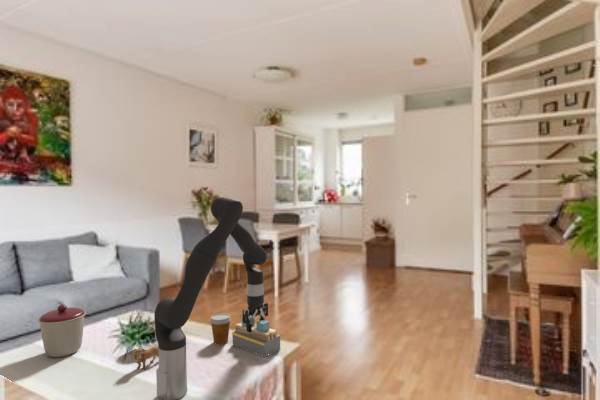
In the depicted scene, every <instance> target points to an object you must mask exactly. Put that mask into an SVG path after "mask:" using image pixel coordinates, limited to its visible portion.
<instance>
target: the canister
mask: <svg viewBox="0 0 600 400" xmlns="http://www.w3.org/2000/svg"><path fill="white" fill-rule="evenodd" d="M86 314H87V311H86V309H85V310H84V309H82V308H80V307H79V308H78V307H68V306H67V305H66V304H61V305H58V306H57V308H56V309H53V310H50V311H48V312H46V313H43V314H42V315H41V316H39V317H38V318H37V322H38V324H39V326H40V327H39V328H40V332H41V333H40V334H41V338H42V344H43V349H44V352H45V354H46V356H48V357H50V358H51V357H52V358H62V357H67V356H70V355H73V354H75V353H76V352H78V351H79V350H80V348H81V346H82V343H83V335H84V327H85V325H84V324H85V316H86Z"/></svg>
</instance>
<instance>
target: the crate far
mask: <svg viewBox="0 0 600 400" xmlns="http://www.w3.org/2000/svg"><path fill="white" fill-rule="evenodd" d="M250 317H252V316H251V315H250ZM245 320H246V319H245ZM249 321H250V319H249ZM241 322H242V326H246V324H245V323H243V317H241ZM251 324H252V326H253V325H255V324H256V323H255V318H254V319H253V320H252V323H251Z"/></svg>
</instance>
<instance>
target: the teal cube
mask: <svg viewBox="0 0 600 400" xmlns="http://www.w3.org/2000/svg"><path fill="white" fill-rule="evenodd" d="M256 324H257V330H258V331H261V332H265V331H267V330H269V329H270V328H271V327H270V321H269V320H266V319H265V320H261V321H260V320H259V321H257V322H256Z"/></svg>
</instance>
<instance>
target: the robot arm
mask: <svg viewBox="0 0 600 400" xmlns="http://www.w3.org/2000/svg"><path fill="white" fill-rule="evenodd" d="M243 209H244V206H243V203H242V201H241V200H238V199H235V198H230V197H224V196H218V197H216V198H214V199H213V201H212V202H211V205H210V213H211V215H212V217H214V219H215V220H216V221H217V222H218V224H217V226H216V227H215V228H214V229H213V230H212V232H210V233H209V234H207V235H206V236H204V238H202V239H201V240H199V241H198V242H197V244H195V246H194V247H193V249H192V251H191V253H190V254H189V256H188V258H187V260H186V263H185V267H184V276H183V282H182V285H181V287H180V290H179V291H178V293H177V295H176V296H175V298H172V297H166V298H163V299H161V300H160V301H158V303H157V305H156V307H155V310H154V329H155V334H156V339H157V347H158V355H159V357H158V368H156V373H155V375H156V396H157V397H158V398H159V399H161V400H178V399H181V398H183V397H185V395H187V394H188V378H187V377H188V374H187V373H188V371H187V366H188V365H187V336H186V334H185V333H184V331H183V330H182V328H183V326H185V325H186V323H187V322H188V320H189V318H190V317H191V314H192V311H193V309H194V307H195V304H196V301H197V299H198V297H199V294H200V292H201V289H202V287H203V286H204V284H205V282H206V280H207V278H208V276H209V273H210V272H211V271H212V269H213V266H214V265H215V263H216V261H217V259H218V257H219V254H220V253H221V250H222V249H223V247H224V245H225V244H226V242H227V240H228V238H229V237H230V236H231V237H232V238H233V240H234V241H235V243H236V244H237V246H238V248H239V249H240V251H241V252H242V260H243V264H244V269H245V271H246V274H247V275H246V279H247V280H246V281H247V282H246V283H247V284H246V285H247V286H246V304H247V309H245V308H244V309H242V312H241V313H242V318H243V323H245V324H246V328H247V329H246V330H247V332H252V324H251V323H252V320H253V319H254V320H255V318H256V317H257V316H259V321H261V320H266V317H268V316H269V303H268V302H265V289H264V288H265V287H264V271H263V270H262V269H259V268H257V267H256V266H261V265H264V264H265V263H266V262H267V260H268V256H267V252H266V250H265V249H264V248H263V247H262V246H261V245H260V244H259V243H258V242H257V241H256V240H255V239H254V237H253V236H252V234H251V233H250V231H249V230H248V229H247V228H246V227H245V226H244V225H242V224H241V223H240V222H239V221H240V219H241V217H242V215H243V212H244V210H243ZM250 316H252V317H250ZM245 319H246V320H245ZM249 319H250V321H249Z"/></svg>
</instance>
